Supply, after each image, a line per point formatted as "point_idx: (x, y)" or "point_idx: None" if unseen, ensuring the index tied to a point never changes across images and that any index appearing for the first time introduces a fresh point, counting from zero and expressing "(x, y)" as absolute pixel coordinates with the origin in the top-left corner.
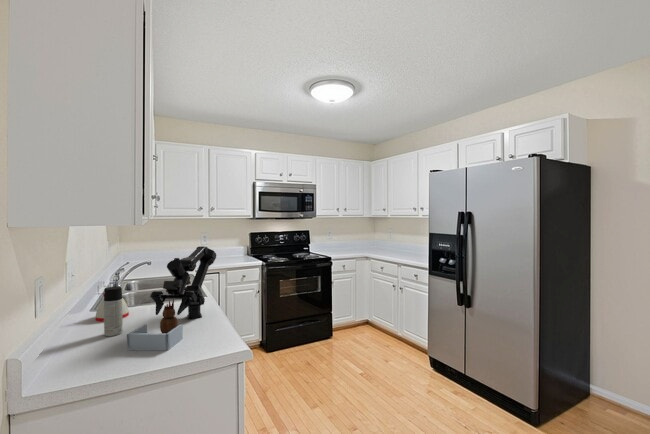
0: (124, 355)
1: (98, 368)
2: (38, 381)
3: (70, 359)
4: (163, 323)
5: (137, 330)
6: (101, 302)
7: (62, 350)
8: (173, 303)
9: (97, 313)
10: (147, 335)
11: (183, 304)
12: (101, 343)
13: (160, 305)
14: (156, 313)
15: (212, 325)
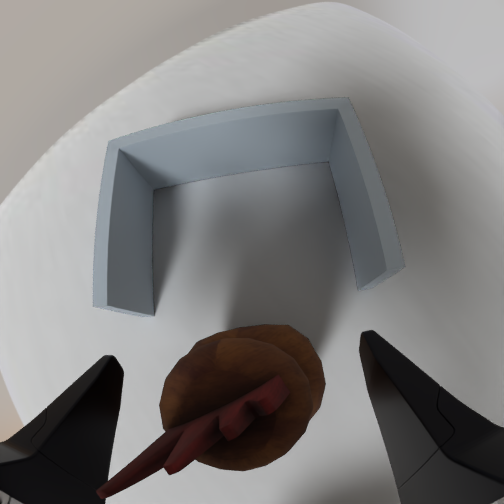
0: None
1: (300, 52)
2: (374, 21)
3: (444, 89)
4: (262, 325)
5: (355, 161)
6: None
7: None
8: (135, 458)
9: None
10: (223, 115)
11: (30, 425)
12: (497, 203)
13: (408, 460)
14: (364, 334)
15: None
